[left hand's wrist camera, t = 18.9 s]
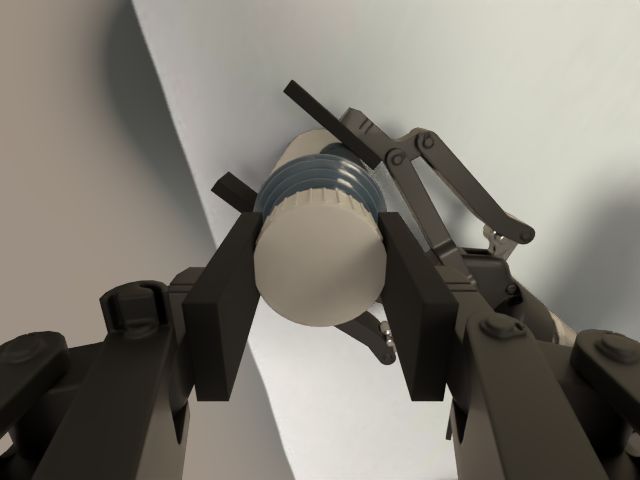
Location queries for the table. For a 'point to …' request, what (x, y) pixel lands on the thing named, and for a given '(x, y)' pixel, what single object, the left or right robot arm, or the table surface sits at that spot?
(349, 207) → the cap
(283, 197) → the bottle
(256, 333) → the table surface
